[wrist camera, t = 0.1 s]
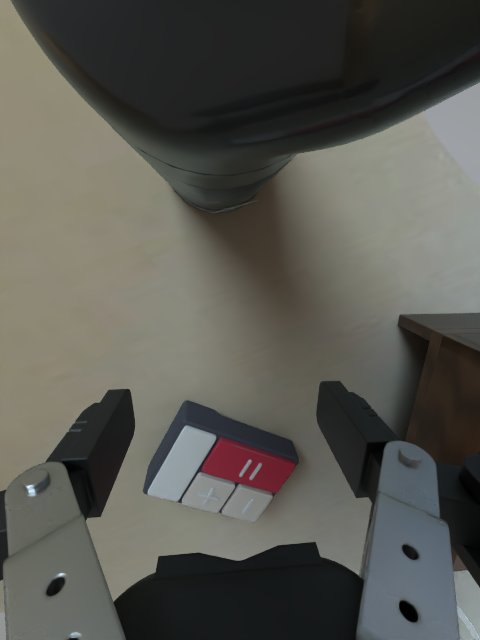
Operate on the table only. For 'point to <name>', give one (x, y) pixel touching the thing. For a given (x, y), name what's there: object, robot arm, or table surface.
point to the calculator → (219, 464)
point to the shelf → (447, 390)
